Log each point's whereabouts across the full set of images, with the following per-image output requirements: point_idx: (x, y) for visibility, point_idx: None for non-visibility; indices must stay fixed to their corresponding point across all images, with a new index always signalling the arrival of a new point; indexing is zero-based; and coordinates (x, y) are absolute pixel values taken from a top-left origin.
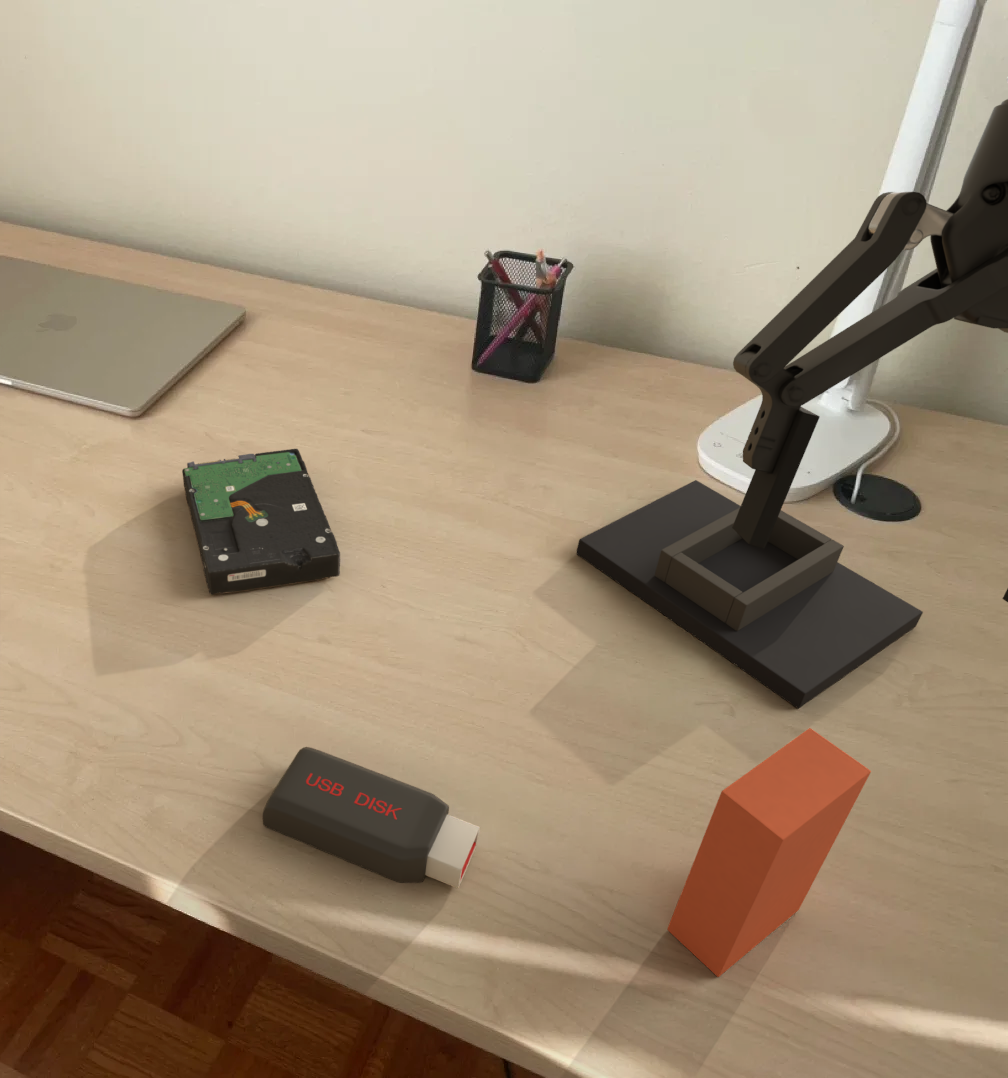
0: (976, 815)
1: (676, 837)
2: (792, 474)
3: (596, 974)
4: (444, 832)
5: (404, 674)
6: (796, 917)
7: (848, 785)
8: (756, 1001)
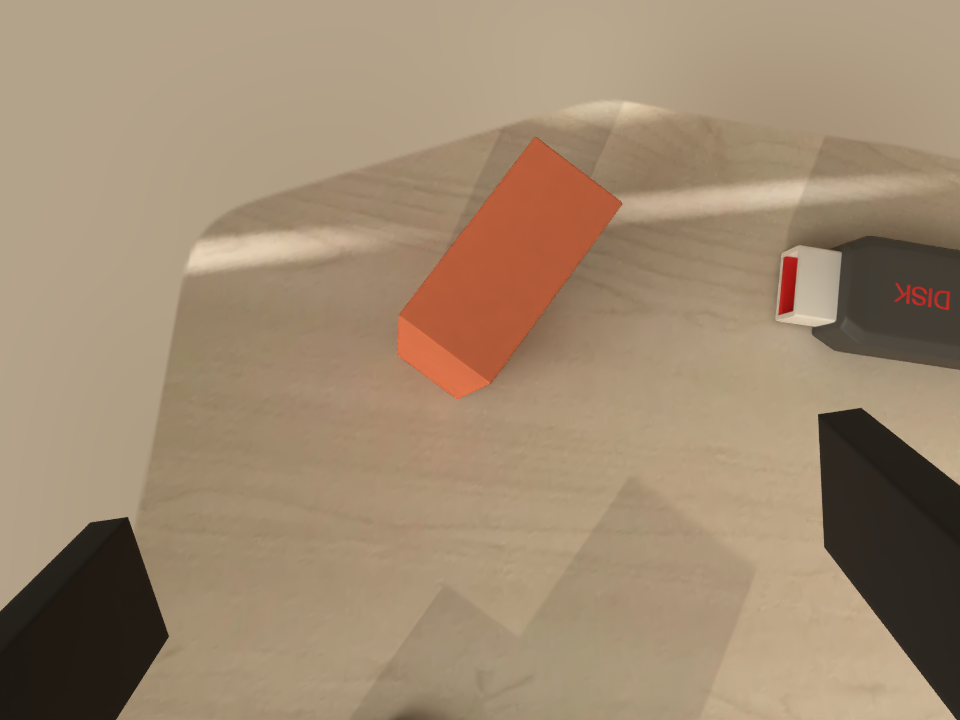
0: None
1: (543, 417)
2: (939, 515)
3: None
4: (832, 292)
5: None
6: None
7: (436, 272)
8: (446, 218)
